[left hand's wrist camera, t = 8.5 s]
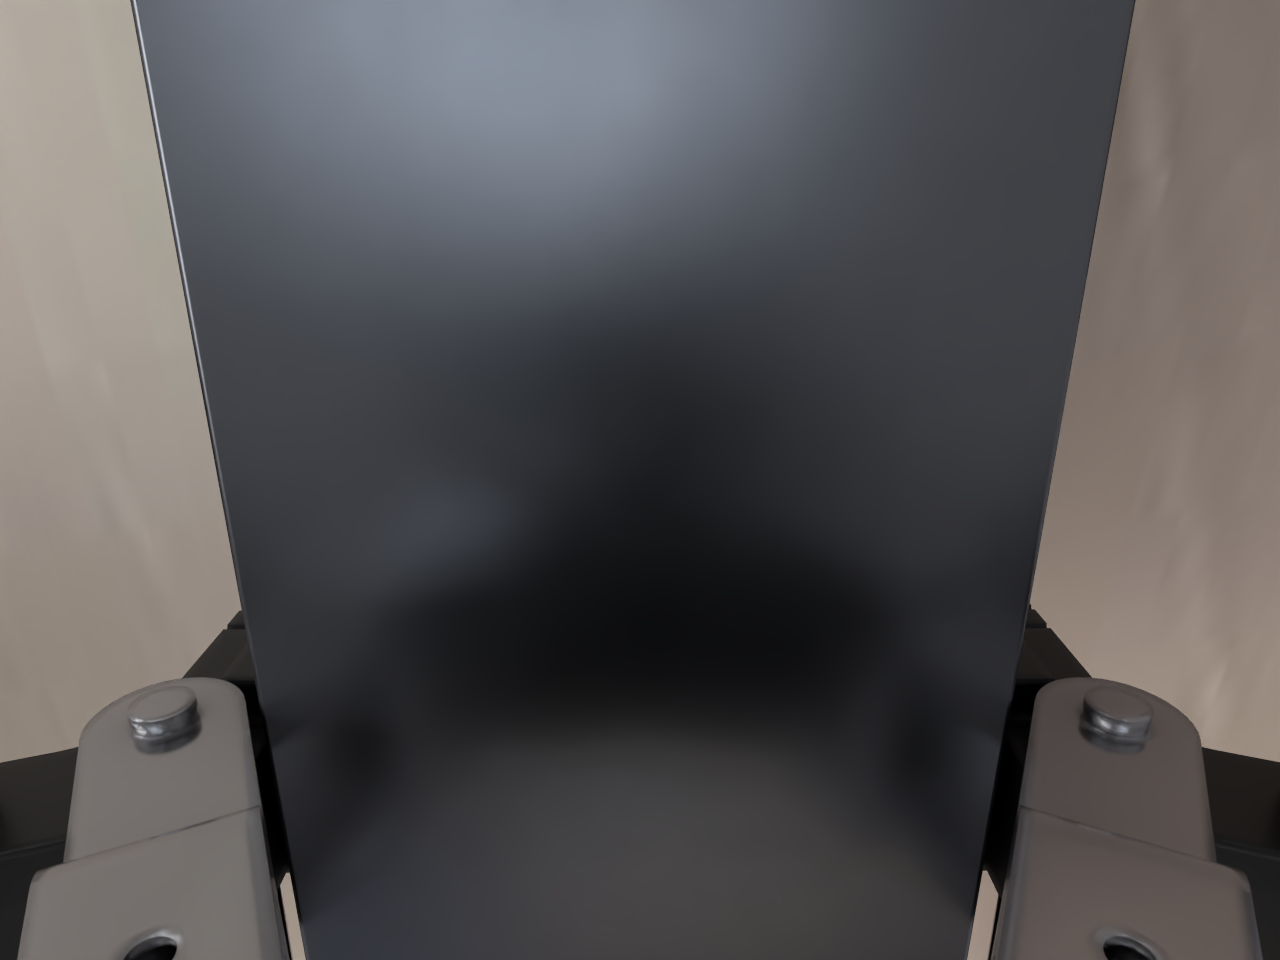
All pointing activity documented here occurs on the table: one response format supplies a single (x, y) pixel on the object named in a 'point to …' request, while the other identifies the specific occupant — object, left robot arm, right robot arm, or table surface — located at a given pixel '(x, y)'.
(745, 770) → the box
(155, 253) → the table surface
